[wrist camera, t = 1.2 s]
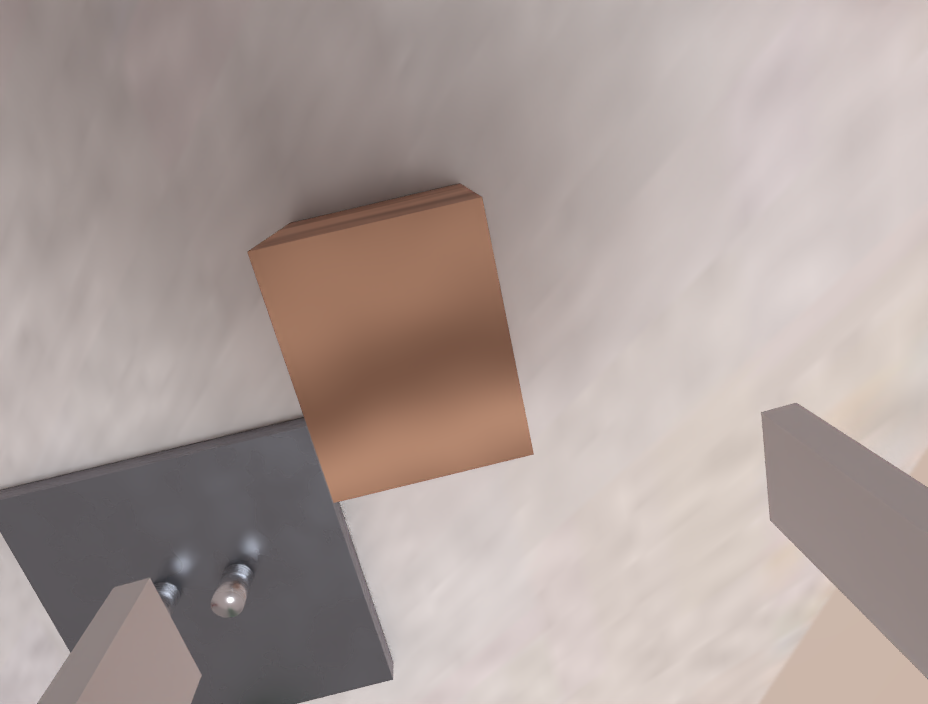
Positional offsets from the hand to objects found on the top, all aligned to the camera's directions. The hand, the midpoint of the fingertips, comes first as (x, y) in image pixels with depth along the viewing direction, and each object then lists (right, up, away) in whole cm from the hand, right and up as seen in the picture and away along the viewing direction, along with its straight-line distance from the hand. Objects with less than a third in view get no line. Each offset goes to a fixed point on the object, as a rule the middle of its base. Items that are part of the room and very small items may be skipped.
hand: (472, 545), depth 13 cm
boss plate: (-14, -9, +20) cm, 26 cm away
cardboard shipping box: (-3, +6, +16) cm, 18 cm away
